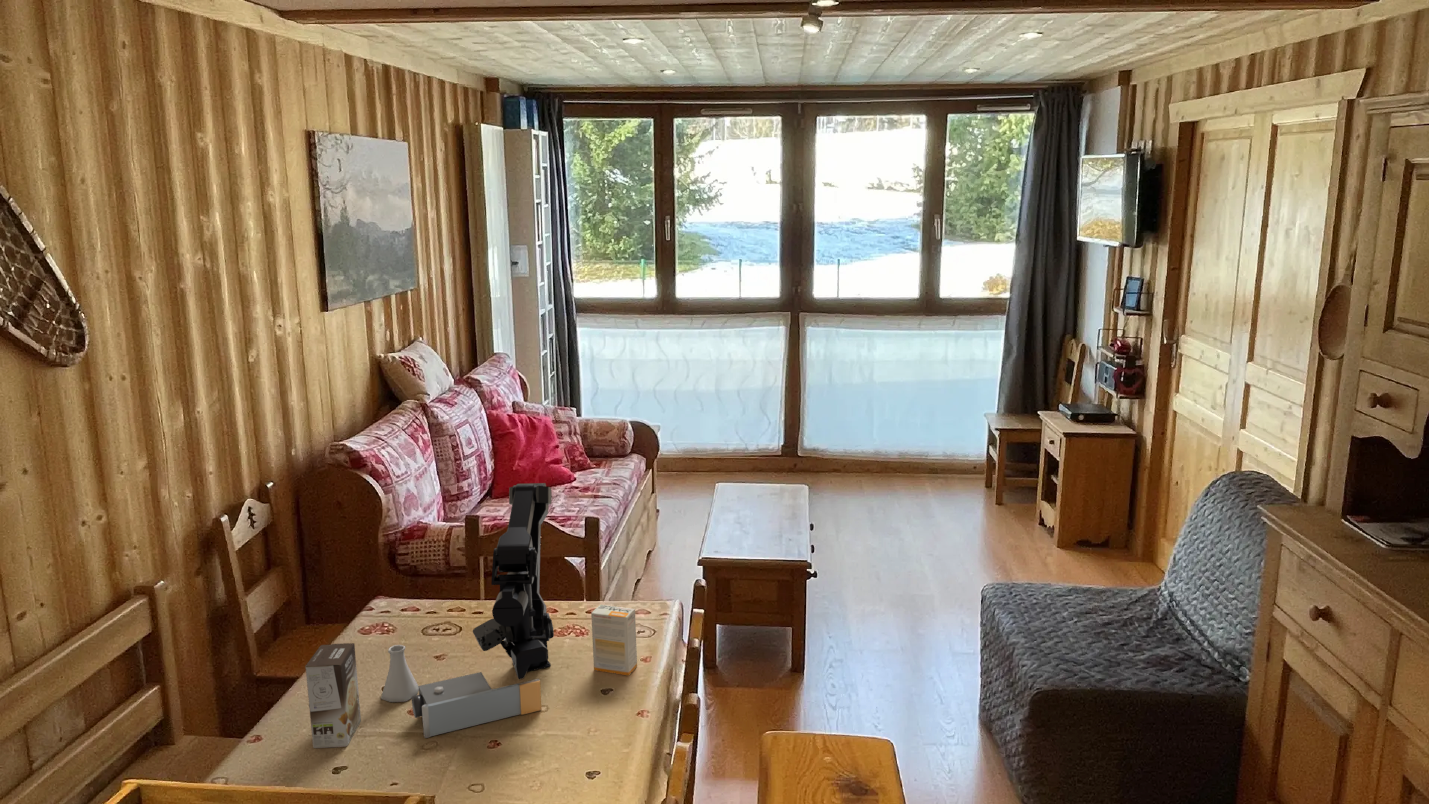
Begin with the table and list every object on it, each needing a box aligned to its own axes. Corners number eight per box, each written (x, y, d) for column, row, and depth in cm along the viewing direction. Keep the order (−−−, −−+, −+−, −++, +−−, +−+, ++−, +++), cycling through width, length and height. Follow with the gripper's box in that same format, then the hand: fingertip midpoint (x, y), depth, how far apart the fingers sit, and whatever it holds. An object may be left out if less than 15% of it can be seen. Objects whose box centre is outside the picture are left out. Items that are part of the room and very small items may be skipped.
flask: (408, 705, 194) (404, 658, 192) (374, 701, 195) (370, 654, 193) (425, 687, 201) (422, 641, 199) (393, 684, 202) (389, 638, 200)
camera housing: (482, 699, 195) (480, 669, 194) (493, 718, 188) (491, 686, 187) (412, 716, 189) (409, 685, 188) (420, 736, 182) (418, 703, 181)
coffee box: (348, 747, 179) (341, 665, 176) (312, 749, 179) (303, 667, 175) (362, 720, 188) (355, 642, 185) (327, 722, 188) (319, 643, 184)
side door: (539, 706, 192) (538, 678, 191) (541, 709, 191) (540, 681, 190) (423, 735, 182) (421, 705, 181) (424, 738, 181) (422, 709, 180)
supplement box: (638, 666, 209) (636, 608, 206) (628, 676, 204) (627, 617, 202) (602, 660, 212) (600, 603, 209) (592, 670, 207) (590, 612, 204)
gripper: (463, 595, 196) (468, 667, 200) (488, 631, 180) (492, 709, 183) (518, 584, 201) (522, 655, 205) (547, 619, 185) (550, 695, 188)
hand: (520, 678), depth 195 cm, fingers closed
